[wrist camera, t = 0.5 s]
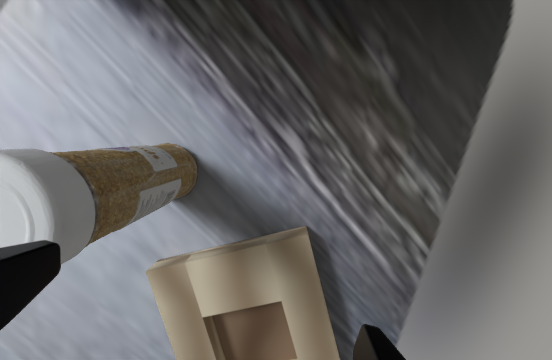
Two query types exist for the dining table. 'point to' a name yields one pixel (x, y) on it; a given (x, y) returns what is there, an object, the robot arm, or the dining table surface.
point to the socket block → (246, 301)
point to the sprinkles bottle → (86, 192)
